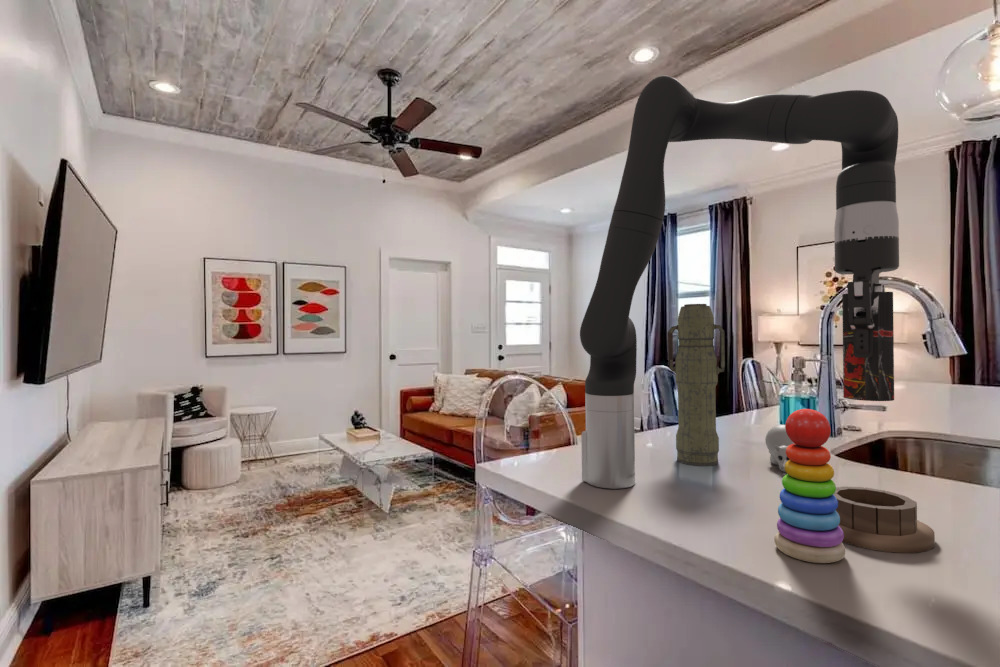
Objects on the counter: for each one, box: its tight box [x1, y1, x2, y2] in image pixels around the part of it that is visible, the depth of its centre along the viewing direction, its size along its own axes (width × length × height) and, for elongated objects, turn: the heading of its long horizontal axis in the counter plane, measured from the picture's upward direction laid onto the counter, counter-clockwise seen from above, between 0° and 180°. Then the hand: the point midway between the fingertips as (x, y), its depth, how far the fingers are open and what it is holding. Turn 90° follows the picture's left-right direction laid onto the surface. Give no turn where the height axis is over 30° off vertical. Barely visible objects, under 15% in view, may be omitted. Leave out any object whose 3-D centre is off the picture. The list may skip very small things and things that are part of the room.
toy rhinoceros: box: [765, 424, 795, 473], centre depth 110 cm, size 7×12×8 cm, turn 150°
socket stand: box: [833, 486, 936, 554], centre depth 74 cm, size 14×14×5 cm
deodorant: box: [841, 291, 895, 402], centre depth 74 cm, size 6×6×15 cm
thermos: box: [667, 303, 726, 467], centre depth 116 cm, size 9×12×35 cm
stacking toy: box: [774, 408, 847, 564], centre depth 68 cm, size 8×8×19 cm
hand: (867, 355), depth 74 cm, fingers closed on deodorant, 6 cm apart
